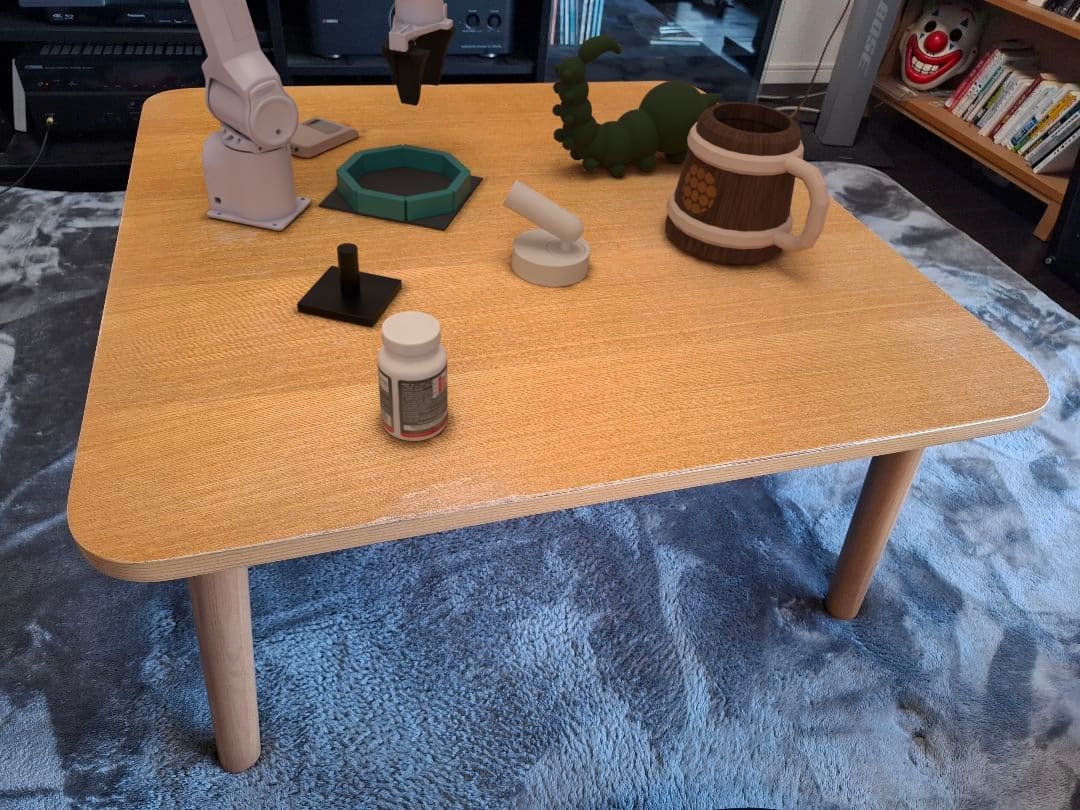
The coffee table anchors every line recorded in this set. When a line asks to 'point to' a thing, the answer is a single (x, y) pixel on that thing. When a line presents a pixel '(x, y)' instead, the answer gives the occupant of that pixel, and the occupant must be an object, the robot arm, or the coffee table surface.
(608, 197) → the coffee table surface
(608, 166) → the toy figurine
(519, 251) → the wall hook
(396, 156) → the hoop
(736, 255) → the mug
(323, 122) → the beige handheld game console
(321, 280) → the post
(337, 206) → the mat
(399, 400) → the pill bottle
